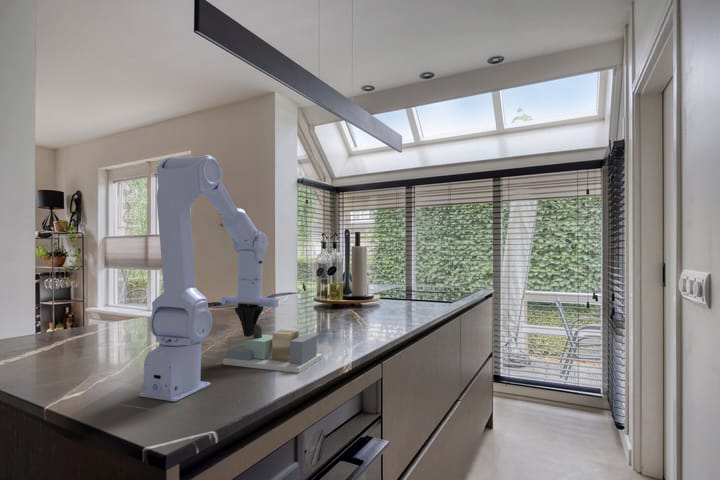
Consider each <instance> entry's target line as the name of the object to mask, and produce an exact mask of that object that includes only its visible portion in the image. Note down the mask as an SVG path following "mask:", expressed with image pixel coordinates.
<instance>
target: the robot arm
mask: <svg viewBox="0 0 720 480" xmlns="http://www.w3.org/2000/svg"><path fill="white" fill-rule="evenodd" d="M156 176H157V177H156V178H157V189H156V191H157V192H156V207H157V209H156V210H157V220H158V230H159V231H158V232H159V234H158V235H159V244H160V245H159V247H160V257H161V272H162V283H163V292H162V293H160V294H159V295H158V296H157V297H156V298H155V299H154V300H153V301H152V302H151V305H152V306H151V307H152V310H151V315H150V317H149V318H150V319H149V329H150V332H151V334H152V336H153V337H155V342H156V343H159V344H158V345H157V347H156V348H155V349H152V350H151V351H149V352H148V353H147V355H146V357H145V358H144V359H145V360H144V364H143V389H142V390H143V391H142V392H139V394H138V395H139V397H142V398H147V399H148V398H149V399H153V400H155V399H156V400H161V401H168V402H178V401H180V400H182V399H183V398H186V397H188V396H190V395H192V394H194V393H196V392H199V391H201V390H203V389H205V388H207V387H209V386H211V382H210V381H203V380H202V381H201V371H202V370H201V369H202V342H205V341H206V338H207V337H208V335H209V334H210V332H211V330H212V327H213V316H212V312H211V310H210V309H209V304H208V298H207V297H206V296H205V295H204V294H203V293H201V292H200V291H199V290H198V289H197V285H196V271H195V256H194V255H195V254H194V243H193V240H194V239H193V228H192V227H193V226H192V212H191V205H192V204H193V203H194V202H195V201H196V200H197V199H198V198H200V197H201V196H204V198H206V200H208V201H209V203H210V204H211V205H212V206H213V207H214V208H215V210H216V211H218V213H219V214H220V216H222V217H221V225H223V227H224V228H225V230H226V231H227V233H228V234H229V235H230V237H231V241H232V244H233V248H234V251H235V252H237V253H238V260H237V263H238V265H237V268H238V269H237V296H236V295H225V296H224V295H222V296H221V305H231V306H237V307H234V312H235V313H236V315H237V317H238V319H239V321H240V324H241V327H242V331H243V332H242V333H243V336H244V337H248V338H249V337H251V336H252V337H253V328H254V324H258V320H259V318H260V316H261V314H262V312H263V311H264V307H265V308H266V307H267V308H272V309H273V308H278V307H279V298H273V297H265V296H263V266H264V264H263V263H264V261H265V259H266V253H267V249H268V246H269V242H268V237H267V235H266V233H264V232H263V231H262V230H258V229H257V228H256V226H255V224H254V223H253V221H252V220H251V218H250V217H249V216H248V214H247V212H246V211H245V210H244V209H243V208H240V207H237V206H236V205H235V203H234V201H233V200H232V198H231V196H230V194H229V192H228V191H227V189H226V187H225V185H224V183H223V170H222V168H221V166H220V164H219V163H218V161H217V159H216V158H215V157H214V156H212V155H210V154H206V155H202V156H201V155H199V156H198V155H197V156H184V157H173V156H172V157H170V156H169V157H166V158H165V159H163V160H162V161H161V163H160V164H158V166H156Z"/></svg>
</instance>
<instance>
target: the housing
mask: <svg viewBox="0 0 720 480" xmlns="http://www.w3.org/2000/svg"><path fill="white" fill-rule="evenodd" d="M272 335H273V339H272V342H271V346H272V359H277V360H286V361H290V341H291V340H294V339H296V338H298V337H300V331H299V330H295V329H294V330H293V329H283V328H282V329H280V330H277V331H274V332H272Z"/></svg>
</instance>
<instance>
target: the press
mask: <svg viewBox="0 0 720 480" xmlns="http://www.w3.org/2000/svg"><path fill="white" fill-rule="evenodd" d="M317 346H318V334H317V335H316V334H303V335H301V336H300V335H299V337H298V338H296V339H294V340H291V341H290V361H286V360H277V359H272V356H270V357H268V358H266V359H256V358H252V353H253V351H249V350H245V349H237V348H228V349H227V350H226V351H227V355H226V358H225V359H223V360H222V364H223V365H226V366H234V367H235V366H236V367H244V368H250V369H251V368H252V369H259V370H269V371H277V372H285V373H286V372H287V373H294V374H295V373H296V374H299V373H301V372H303V371H305V370H306V369H308V368H309V367H312V365H314V364H316V363H317V362H319V361H320V360H322V359H323V353H319V352H318V351H317V350H318V349H317V348H318V347H317ZM317 352H318V353H317Z"/></svg>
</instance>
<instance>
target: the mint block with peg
mask: <svg viewBox="0 0 720 480" xmlns="http://www.w3.org/2000/svg"><path fill="white" fill-rule="evenodd" d="M272 339H273V334H264V333H263V324H261V323H256V324H254V328H253V335H252V337H250V338H247V339H246V340H245V347H244V350H249V351H253V353H252V358H256V359H266V358H268V357H270V356H272V346H271V342H272Z"/></svg>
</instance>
